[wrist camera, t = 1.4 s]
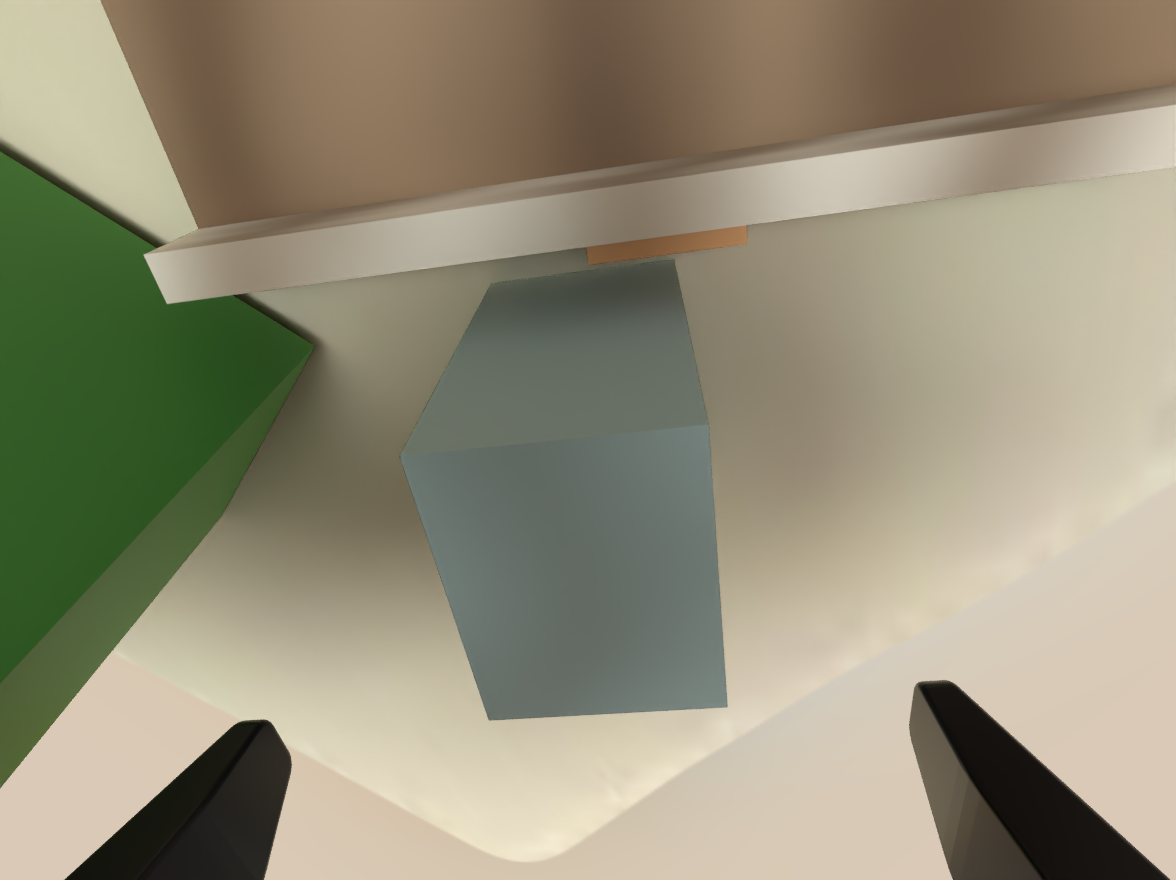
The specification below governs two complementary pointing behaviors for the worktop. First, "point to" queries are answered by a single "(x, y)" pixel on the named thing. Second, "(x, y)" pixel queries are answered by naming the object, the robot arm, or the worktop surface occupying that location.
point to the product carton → (576, 498)
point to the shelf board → (614, 121)
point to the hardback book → (107, 438)
